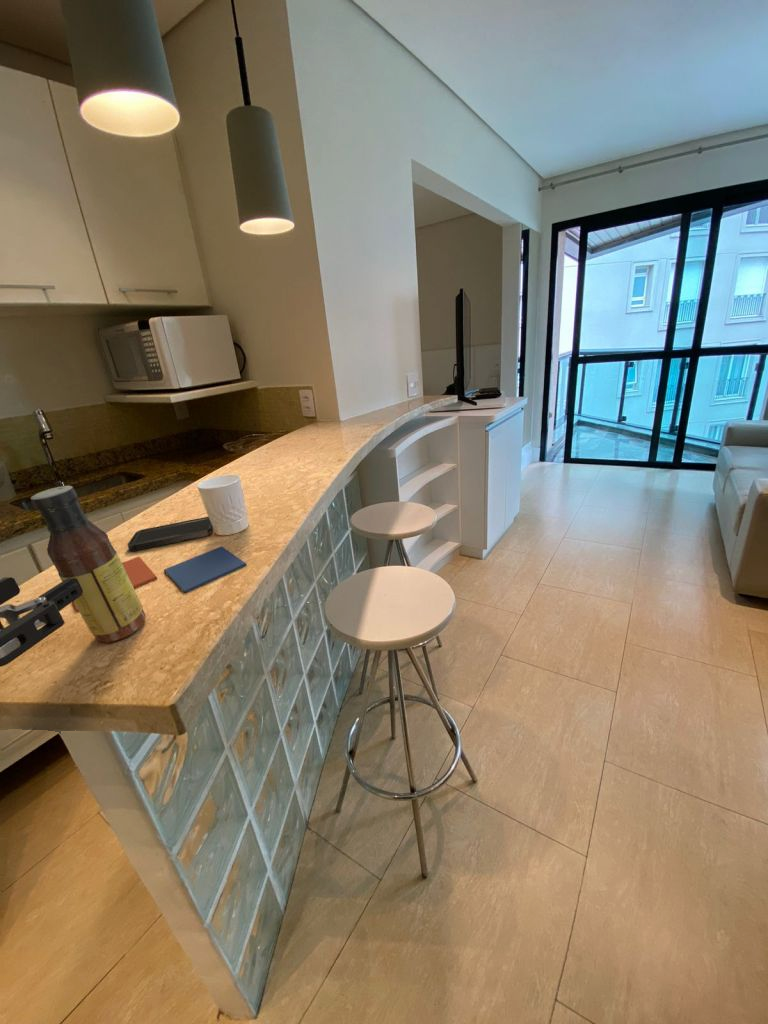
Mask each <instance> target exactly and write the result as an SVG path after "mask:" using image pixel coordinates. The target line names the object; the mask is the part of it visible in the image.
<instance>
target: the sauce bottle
mask: <svg viewBox="0 0 768 1024" xmlns="http://www.w3.org/2000/svg"><path fill="white" fill-rule="evenodd" d="M30 501H31V503H32V505H33V507H34V509H35V510H37V511H38V512H39V514H40V516H41V517H42V519H43V521H44V523H45V525H46V529H47V532H49V539H48V544H47V548H46V551H47V555H48V557H49V558H50V560H51V562H52V564H53V566H54V567H55V569H56V571H57V575H58V576H59V578H60V580H61V582H63V581H64V580H66V579H67V578H76V579H77V580H78V581H79V584H80V586H81V588H82V590H83V593H82V595H81V596H80V597H79V598H77V599H76V600H74V602H73V604H74V603H75V605H76V607H77V609H78V610H79V611H78V613H79V614H80V616H81V618H82V620H83V621H84V624H85V625H86V626H87V628H88V630H89V633H91V634H92V635H93V637H94V638H95V639H96V640H98V642H101V643H106V644H109V643H111V642H113V643H114V642H117V641H119V640H123V639H126V638H127V637H130V636H131V635H133V634H134V633H136V632H137V631H139V630H140V629H141V628H142V626H143V625H144V624H145V622H146V619H147V618H146V612H145V610H144V608H143V607H144V606H143V604H142V602H141V600H140V598H139V596H138V594H137V592H136V590H135V588H133V586H132V584H131V581H130V579H129V577H128V575H127V573H126V571H125V569H124V567H123V565H122V563H123V562H122V561H121V558H120V556H119V554H118V552H117V550H116V549H115V548H114V546H113V544H112V543H111V541H110V538H109V536H108V534H107V533H106V532H105V531H104V530H102V529H101V528H99V527H98V526H97V525H95V524H94V523H93V522H92V521H90V520H89V519H88V517H87V515H86V514H85V513H84V511H83V509H82V506H81V504H80V501H79V499H78V494H77V492H76V490H75V488H74V486H72V485H62V486H57V487H53V488H48V489H45V490H43V491H39V492H38V493H36V494H34V495H32V496H31V497H30ZM75 605H74V606H75ZM76 607H75V608H76Z"/></svg>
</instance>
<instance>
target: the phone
mask: <svg viewBox="0 0 768 1024" xmlns="http://www.w3.org/2000/svg"><path fill="white" fill-rule="evenodd" d="M213 532H214V529H213V526H212V524H211V521H210V520H209V517H208V516H204V517H200V518H195V519H194V518H193V519H189V520H184V521H178V522H174V523H169V524H163V525H158V526H153V527H148V528H143V529H140V530H137V531H136V532H135V533H134V535H133V536H131V537H132V538H131V539H130V540H129V542H128V543H127V548H128V550H129V552H136V551H141V550H145V549H150V548H154V547H159V546H164V545H170V544H175V543H179V542H184V541H189V540H194V539H199V538H203V537H207V536H210V535H213Z"/></svg>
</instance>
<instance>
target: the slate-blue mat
mask: <svg viewBox="0 0 768 1024" xmlns="http://www.w3.org/2000/svg"><path fill="white" fill-rule="evenodd" d="M245 566H247V562H245V561H244V560H242V559H241V558H240V557H238V556H236V555H235V554H234V553H232V552H231V551H230V550H228V549H226V547H224V546H222V545H221V546H218V547H216V548H213V549H211V550H209V551H206V552H203V553H201V554H198V555H197V556H194V557H191V558H188V559H187V560H184V561H182V562H179V563H176V564H174V565H172V566H169V567H166V568H164V569H163V571H164V573H165V574H166V575H167V576H168V577H169V578H170V579H171V580H172V581H173V583H174V584H175V585H176V586H177V587H178V588H179V589H180V590H181V591H182V592H183V593H184V594H186V593H189V592H191V591H193V590H195V589H197V588H200V587H201V586H203V585H206V584H208V583H210V582H212V581H215V580H216V579H219V578H221V577H224V576H226V575H228V574H231V573H233V572H235V571H237V570H240V569H242V568H244V567H245Z"/></svg>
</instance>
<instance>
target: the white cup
mask: <svg viewBox="0 0 768 1024" xmlns="http://www.w3.org/2000/svg"><path fill="white" fill-rule="evenodd" d="M242 484H243V483H242V479H241V476H240V475H238V474H223V475H216V476H213V477H209V478H207V479H204V480H202V481H200V482H199V483H197V484H196V487H197V491H198V493H199V495H200V498H201V501H202V504H203V507H204V510H205V512H206V515H207V517H209V520H210V521H211V524H212V526H213V532H214V534H215V535H217V536H231V535H234V534H237V533H240V532H243V531H244V530H246V529H247V528H248V527H249V526H250V521H249V517H248V516H249V515H248V508H247V503H246V498H245V497H246V496H245V493H244V489H243V485H242Z"/></svg>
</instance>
